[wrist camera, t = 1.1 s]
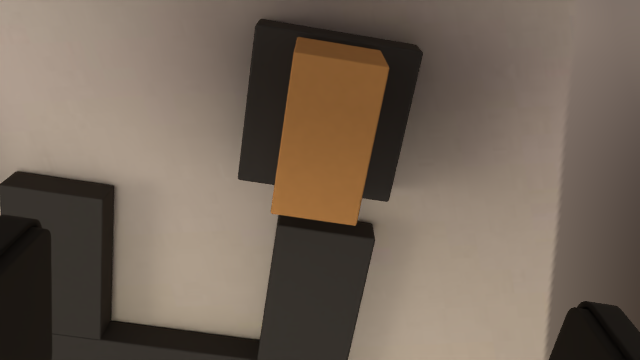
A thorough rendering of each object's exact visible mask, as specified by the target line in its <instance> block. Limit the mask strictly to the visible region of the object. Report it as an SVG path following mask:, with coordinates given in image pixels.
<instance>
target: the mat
mask: <svg viewBox="0 0 640 360" xmlns="http://www.w3.org/2000/svg"><path fill="white" fill-rule="evenodd" d="M113 204H114V186H111V185H104V184H97V183H90V182H84V181H77V180H70V179H63V178H56V177H49V176H43V175H36V174H29V173H22V172H15V173H14V174H12V175H11V176H10V177H9V178H7V179H6V180H5V181H3V182H2V183H1V184H0V209H1V215H12V216H19V217H25V218H32V219H38V220H39V221H40V223H41V225H42V228H43V229H48V230H49V231H50V233H51V267H52V360H348V356H349V352H350V347H351V343H352V339H353V334H354V330H355V325H356V321H357V317H358V312H359V308H360V304H361V299H362V295H363V290H364V286H365V282H366V277H367V273H368V268H369V264H370V260H371V255H372V251H373V247H374V242H375V237H374V232H373V226H372V224H369V223H362V222H357V224H356V226H353V225H346V224H339V223H332V222H326V221H319V220H312V219H305V218H298V217H291V216H284V215H279V216H278V223H277V229H276V236H275V243H274V249H273V256H272V263H271V269H270V276H269V283H268V289H267V296H266V303H265V309H264V316H263V323H262V329H261V336H260V341H256V340H249V339H241V338H233V337H226V336H218V335H211V334H203V333H196V332H188V331H181V330H173V329H165V328H158V327H150V326H143V325H135V324H128V323H120V322H112V321H111V290H112V247H113Z"/></svg>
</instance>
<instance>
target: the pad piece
mask: <svg viewBox="0 0 640 360" xmlns="http://www.w3.org/2000/svg"><path fill="white" fill-rule="evenodd" d="M422 55H423V52H422V51H421V50H420V48H419V47H418V46H417V45H414V44H408V43H402V42H396V41H390V40H384V39H378V38H372V37H366V36H360V35H354V34H348V33H342V32H336V31H330V30H324V29H318V28H312V27H306V26H300V25H294V24H288V23H282V22H276V21H270V20H264V19H260V20H259V21H258V23H257V24H256V26H255V34H254V42H253V51H252V60H251V68H250V77H249V86H248V94H247V103H246V112H245V120H244V129H243V138H242V146H241V155H240V164H239V172H238V179H239V180H245V181H252V182H258V183H265V184H272V185H275V186H274V193H273V200H272V207H271V213H272V214H278V215H284V216H291V217H298V218H305V219H312V220H319V221H326V222H332V223H339V224H346V225H353V226H356V224H357V219H358V215H359V210H360V205H361V200H362V198H366V199H372V200H379V201H386V202H387V201H388V200H389V197H390V193H391V189H392V185H393V180H394V176H395V172H396V167H397V163H398V159H399V154H400V150H401V146H402V141H403V137H404V133H405V128H406V124H407V120H408V116H409V111H410V107H411V103H412V98H413V94H414V90H415V85H416V81H417V77H418V72H419V68H420V64H421V59H422Z"/></svg>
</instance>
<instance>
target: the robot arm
mask: <svg viewBox="0 0 640 360" xmlns="http://www.w3.org/2000/svg"><path fill="white" fill-rule="evenodd" d="M0 360H52V267H51V233H50V231H49V230H48V229H43V228H42V225H41V223H40V221H39V220H38V219H32V218H25V217H19V216H12V215H1V216H0ZM549 360H640V332H639V331H638V330H637V328H636V327H635V326H634V325H633V324H632V322H631V321H630V320H629V319H628V317H627V316H626V315H625V314H624V312H623V311H622V310H621V309H620V308H619V307H617V306H614V305H608V304H601V303H595V302H587V301H584V302H581V303H580V304H579V305H578V307H577V308H575V307H574V308H571V309H570V310H569V311H568V313H567V315H566V317H565V320H564V323H563V325H562V328H561V330H560V333H559V335H558V338H557V341H556V343H555V345H554V348H553V350H552V353H551V355H550V358H549Z"/></svg>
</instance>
